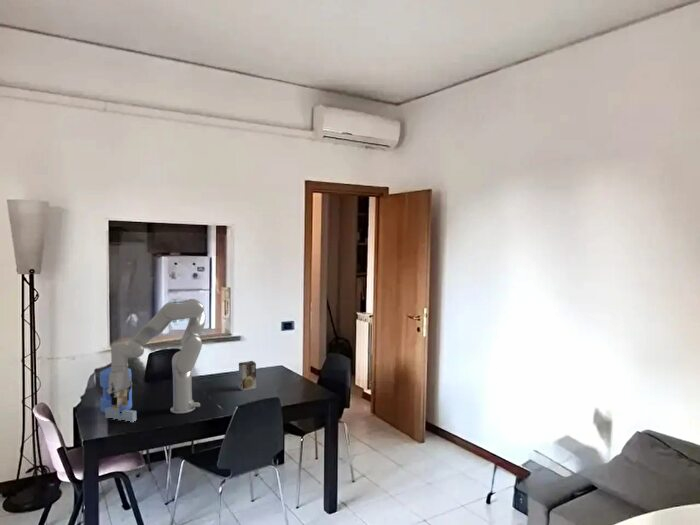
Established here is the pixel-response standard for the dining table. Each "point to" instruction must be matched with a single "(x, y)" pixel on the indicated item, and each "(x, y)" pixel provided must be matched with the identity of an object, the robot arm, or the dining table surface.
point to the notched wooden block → (121, 399)
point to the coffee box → (247, 375)
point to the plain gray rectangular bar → (126, 414)
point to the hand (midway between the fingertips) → (120, 402)
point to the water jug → (106, 398)
